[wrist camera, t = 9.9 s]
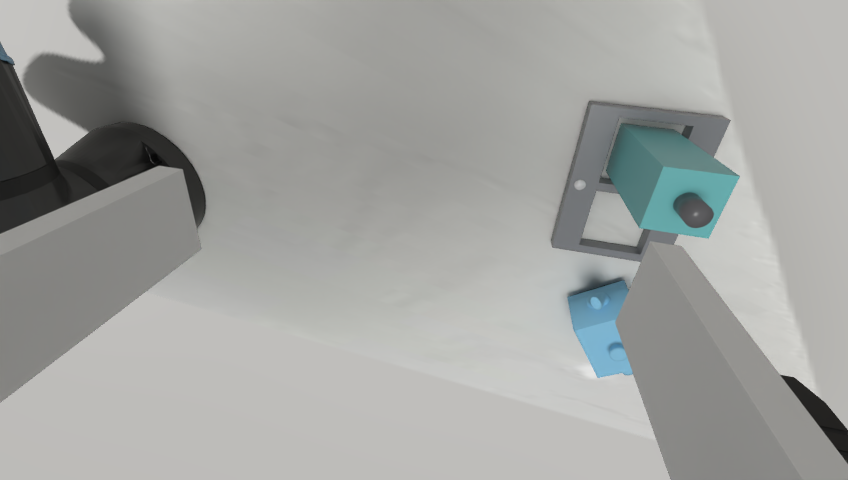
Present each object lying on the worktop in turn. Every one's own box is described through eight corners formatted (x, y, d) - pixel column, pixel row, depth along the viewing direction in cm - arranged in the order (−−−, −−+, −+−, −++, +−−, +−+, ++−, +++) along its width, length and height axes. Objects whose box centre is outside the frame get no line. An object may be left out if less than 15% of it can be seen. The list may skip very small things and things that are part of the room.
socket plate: (550, 240, 42) (552, 248, 41) (589, 101, 35) (592, 104, 34) (659, 257, 41) (664, 266, 40) (722, 116, 34) (731, 120, 32)
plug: (605, 170, 38) (647, 241, 26) (621, 123, 36) (674, 177, 24) (655, 177, 37) (721, 253, 25) (674, 129, 35) (756, 188, 23)
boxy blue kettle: (555, 269, 44) (562, 312, 38) (611, 250, 42) (629, 293, 35) (592, 345, 48) (604, 396, 42) (646, 332, 46) (667, 384, 39)
